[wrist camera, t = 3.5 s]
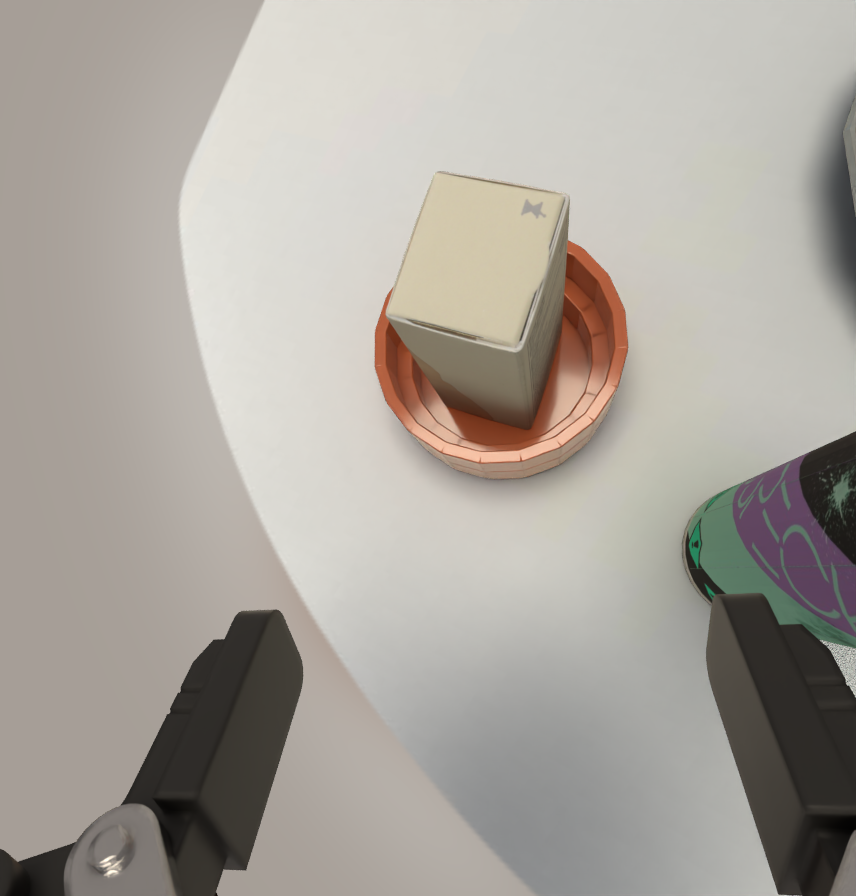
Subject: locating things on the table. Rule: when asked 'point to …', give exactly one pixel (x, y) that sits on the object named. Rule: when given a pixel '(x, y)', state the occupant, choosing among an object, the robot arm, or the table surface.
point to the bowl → (564, 400)
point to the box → (484, 293)
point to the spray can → (785, 541)
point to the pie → (851, 148)
